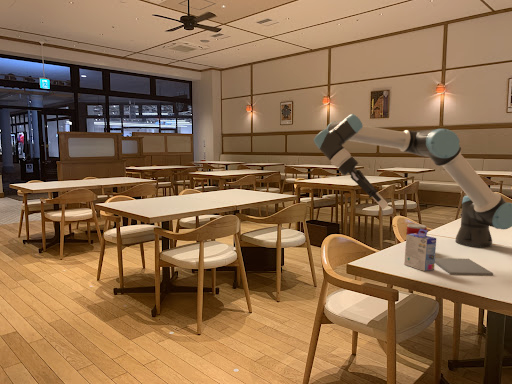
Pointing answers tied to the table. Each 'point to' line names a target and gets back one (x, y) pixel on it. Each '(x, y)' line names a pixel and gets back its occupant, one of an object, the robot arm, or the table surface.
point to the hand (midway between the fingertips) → (386, 206)
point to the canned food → (415, 228)
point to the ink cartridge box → (420, 251)
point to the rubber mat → (461, 266)
